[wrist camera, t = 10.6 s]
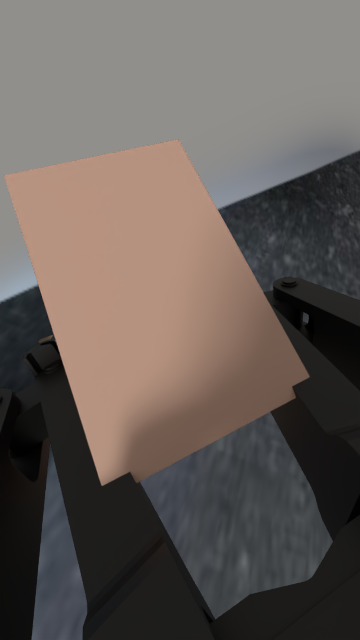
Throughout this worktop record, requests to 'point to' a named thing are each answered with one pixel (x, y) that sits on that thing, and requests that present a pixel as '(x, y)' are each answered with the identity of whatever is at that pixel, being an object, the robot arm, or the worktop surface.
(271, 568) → the worktop surface
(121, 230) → the peach block
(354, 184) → the worktop surface
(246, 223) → the worktop surface
